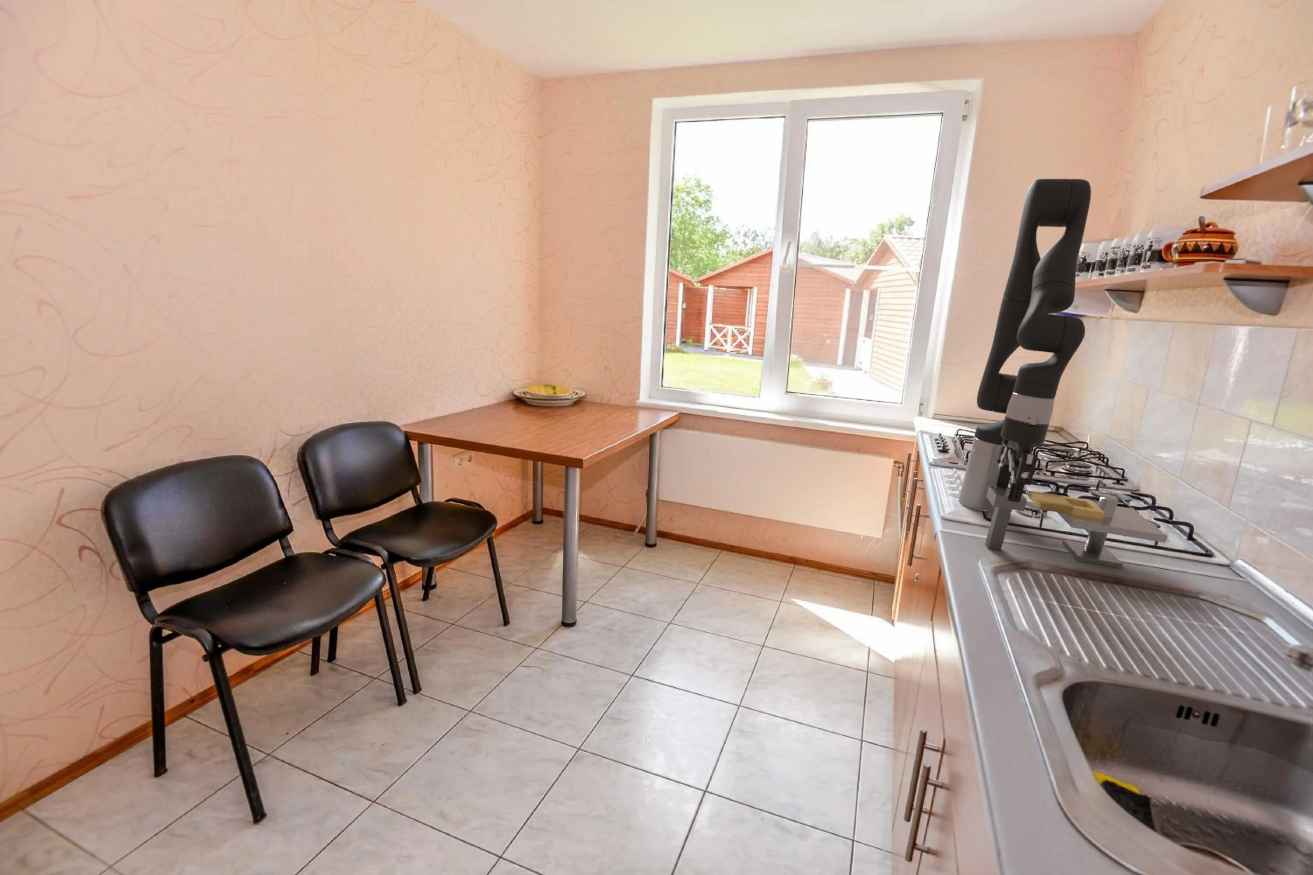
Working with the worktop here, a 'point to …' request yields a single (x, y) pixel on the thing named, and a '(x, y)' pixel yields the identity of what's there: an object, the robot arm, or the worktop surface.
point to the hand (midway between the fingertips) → (1006, 494)
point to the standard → (1108, 531)
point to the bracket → (1066, 505)
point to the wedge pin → (1000, 515)
